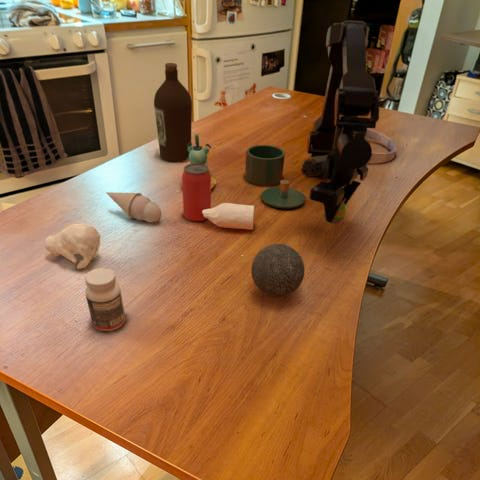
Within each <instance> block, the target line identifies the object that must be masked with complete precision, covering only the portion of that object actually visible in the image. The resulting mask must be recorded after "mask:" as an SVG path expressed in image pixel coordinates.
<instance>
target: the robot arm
mask: <svg viewBox="0 0 480 480" xmlns="http://www.w3.org/2000/svg"><path fill="white" fill-rule="evenodd" d="M369 31H370V27H369V26H368V23H367V22H365V21H363V20H345V21H342V22H334V23H333V24H331V25H330V26H329V27H328V29H327V32H326V41H325V46H326V48H327V56H328V60H329V64H330V69H329V73H328V74H329V75H328V79H327V83H326V89H325V95H324V99H323V104H322V110H321V115H320V116H319V117H318V118H317V119H316V120H314V122H313V125H312V129H311V130H310V131H309V133H308V137H307V140H306V141H307V142H306V152H307V153H306V154H307V155H310V157H309V158H307V159H305V160H304V161H303V163H302V165H301V166H302V167H301V173H303V175H304V176H305V178H311V177H317V178H321V179H323V180H326V181H323V180H321V181H320V182H318V183H317V184H315V185H313V187H312V188H310V190H309V200H311V201H314V202H317V203H321V204H323V207H324V208H325V215H326V220H325V222H326V221H327V222H332V220H333V219H334V217H335V215H336V214H337V212H338V210H339V209H340V207H341V206H342V204H343V202H344V203H345V206H347V204H348V203H349V201H350V200H351V198H352V197H353V196H354V195H355V193H356V191H358V188H359V187H360V186H361V185H362V182H364V180H365V179H366V178H367V176H368V173H369V168H368V166H367V164H368V163H369V160H370V158H371V156H372V153H373V148H372V146H371V143H370V141H369V138H367V137H366V132H367V128H369V129H376V126H377V122H378V121H379V120H380V97H379V91H378V90H377V89H376V87H377V86H376V82H375V77H373V76H372V75H371V74H370V73H369V72H368V66H367V46H368V39H369ZM339 115H340V119H339ZM369 115H370V117H368V116H369ZM358 176H359V180H360V181H358V180H357V178H358ZM327 180H329V181H328V182H327ZM361 181H362V182H361ZM324 208H323V209H324ZM327 222H326V223H327Z"/></svg>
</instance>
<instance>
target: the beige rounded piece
mask: <svg viewBox="0 0 480 480" xmlns="http://www.w3.org/2000/svg"><path fill="white" fill-rule="evenodd" d="M100 246H101V234H100V233H99V232H98V230H97V228H96V227H95V226H93V225H89V224H87V223H81V222H75V223H72V224H70V225H68V226H66V227H65V228H63V229H62V230H61V231H60V232H59V233H57V234H56V235H55V234H53V235H49V236H47V237H46V239H45V240H44V248H45V250H46V251H47V252H48V253H49V254H50V256H51V257H53V259H56V257H57V256H58V257H60V256H62V257H64V258H66V259H67V260H69V261H71V262H72V263H77V260H78V259H77V257H76V256H75V255H78V254H79V255H81V257H83V259H81V260H80V261H79V262H78V264H77V265H76V268H77V269H78V270H82V269H83V268H85V267H87V266H88V265H89V264H90V262H91V260H93V259H95V258H97V256H98V255H99V251H100V250H99V249H100Z"/></svg>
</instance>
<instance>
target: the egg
mask: <svg viewBox="0 0 480 480" xmlns="http://www.w3.org/2000/svg"><path fill="white" fill-rule="evenodd" d="M346 208H347V207H346V205H345V203H344V202H343V204H342V206H341V207H340V209H339V210H338V212H337V214H336V215H335V217H334V219H333V220H332V222H327V221H326V215H325V208H323V218H324V219H323V220H324V221H325V222H326V223H328V224H329V225H338V224H339V225H340V223H342V222H343V220H344V219H345V217H346V212H347V209H346Z"/></svg>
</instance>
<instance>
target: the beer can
mask: <svg viewBox="0 0 480 480" xmlns="http://www.w3.org/2000/svg"><path fill="white" fill-rule="evenodd" d="M208 169H209V166H208V167H207V166H206V164H205V165H203V164H198V163H194V164H191V163H188V164H186V165H185V166H184V167H183V172H182V176H181V183H182V185H181V187H182V209H183V216H184V217H185V218H186V219H187V220H188V221H192V222H204V221H206V220H208V219H207V218H205V217H204V216H203V213H202V211H203V210H205V209H210V208H212V188H211V176H212V175H211V173H209V171H210V170H209V171H208Z"/></svg>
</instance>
